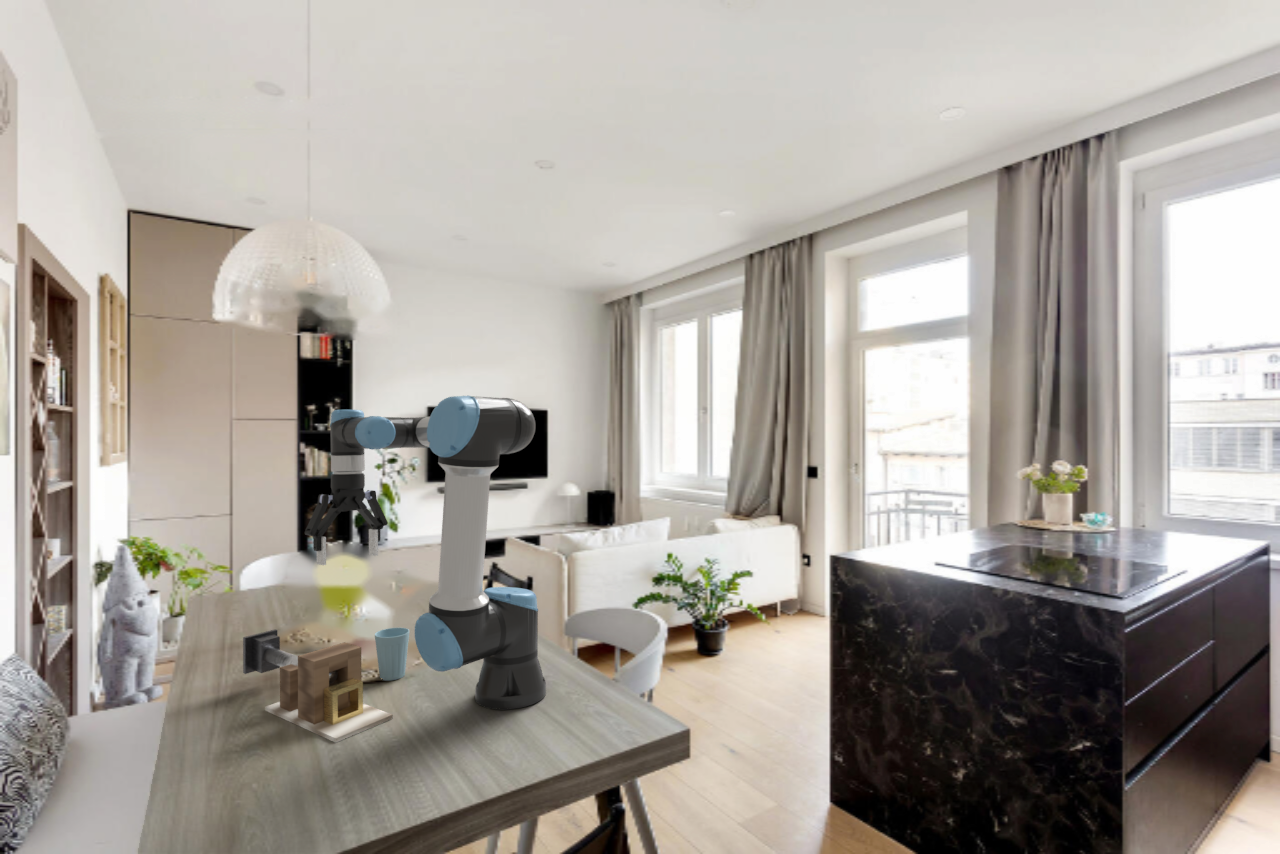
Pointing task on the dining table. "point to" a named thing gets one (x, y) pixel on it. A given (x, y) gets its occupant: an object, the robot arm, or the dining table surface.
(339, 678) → the wooden assembly fixture
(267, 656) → the shaft
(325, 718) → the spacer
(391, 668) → the cup
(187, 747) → the dining table surface
